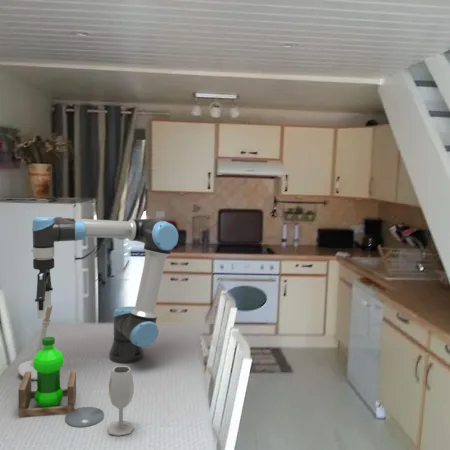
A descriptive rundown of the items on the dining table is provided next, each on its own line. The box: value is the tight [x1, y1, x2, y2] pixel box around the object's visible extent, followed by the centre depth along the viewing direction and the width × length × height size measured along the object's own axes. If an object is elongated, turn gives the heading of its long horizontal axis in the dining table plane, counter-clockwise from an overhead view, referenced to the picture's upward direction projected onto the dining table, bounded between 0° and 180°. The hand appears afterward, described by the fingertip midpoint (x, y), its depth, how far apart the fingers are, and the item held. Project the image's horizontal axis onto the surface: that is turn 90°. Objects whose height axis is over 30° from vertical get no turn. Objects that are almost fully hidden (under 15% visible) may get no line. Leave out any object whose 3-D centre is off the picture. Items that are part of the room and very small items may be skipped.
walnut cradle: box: [17, 368, 77, 419], centre depth 179 cm, size 18×15×10 cm
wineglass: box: [106, 365, 135, 437], centre depth 164 cm, size 9×9×21 cm
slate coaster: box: [64, 406, 105, 428], centre depth 172 cm, size 13×13×1 cm
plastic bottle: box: [33, 336, 64, 408], centre depth 178 cm, size 10×10×25 cm
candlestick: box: [17, 304, 53, 380], centre depth 202 cm, size 13×13×30 cm
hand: (44, 312), depth 190 cm, fingers open, 13 cm apart
